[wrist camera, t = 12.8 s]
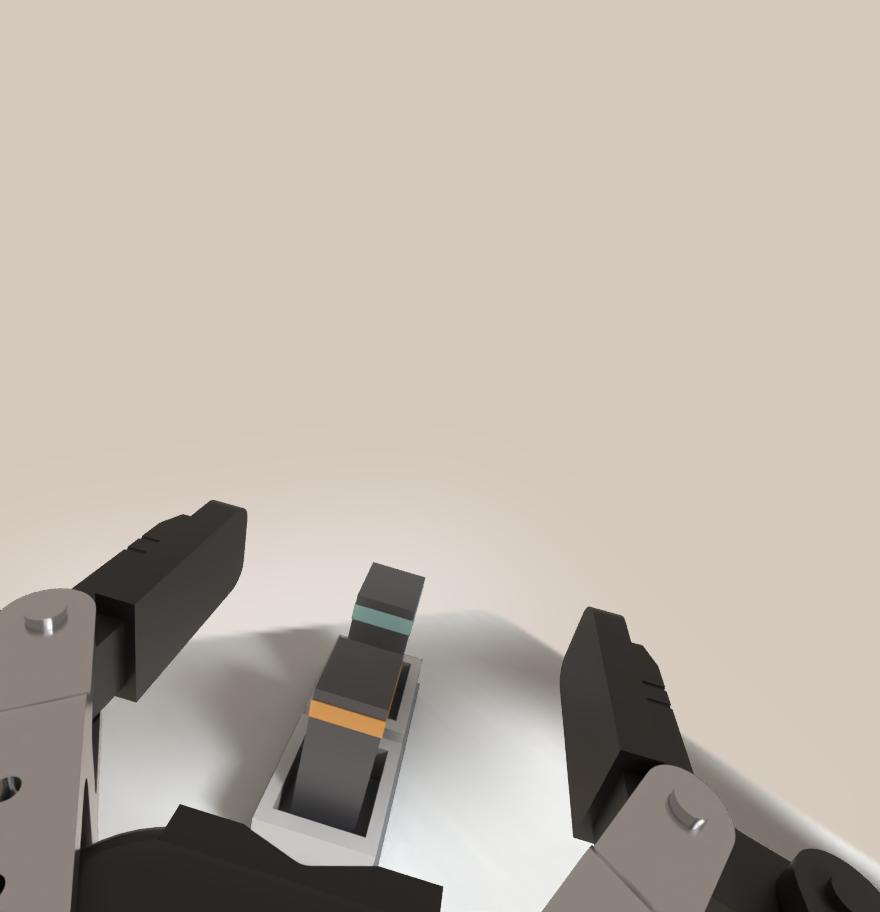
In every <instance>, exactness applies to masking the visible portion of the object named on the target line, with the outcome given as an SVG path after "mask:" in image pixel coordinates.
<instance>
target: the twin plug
mask: <svg viewBox="0 0 880 912" xmlns="http://www.w3.org/2000/svg"><path fill="white" fill-rule="evenodd" d="M424 580H425V577H422V576H418V575H415V574H411V573H408V572H405V571H401V570H398V569H394V568H391V567H388V566H384V565H381V564H378V563H374V562H373V564H372V566H371V568H370V570H369V573H368V575H367V577H366V579H365V581H364V583H363V585H362V587H361V589H360V592H359V593H358V597H357V601H356V603H355V606H354V610H353V615H352V623H351V627H350V632H349V636H348V639H351V640H354V641H357V642H361V643H364V644H367V645H371V646H374V647H377V648H381V649H384V650H387V651H391V652H394V653H397V654H401V655H404V651H405V648H406V644H407V641H408V637H409V636H410V632H411V629H412V625H413V622H414V618H415V615H416V611H417V608H418V604H419V601H420V597H421V594H422V590H423V587H424V586H423V584H424Z"/></svg>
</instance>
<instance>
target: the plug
mask: <svg viewBox="0 0 880 912" xmlns="http://www.w3.org/2000/svg"><path fill="white" fill-rule="evenodd" d="M403 658H404V655H401V654H397V653H394V652H391V651H387V650H384V649H381V648H377V647H374V646H371V645H367V644H364V643H361V642H357V641H354V640H351V639H347V638H344V637H341V636H339V638H338V640H337V643H336V645H335V647H334V649H333V651H332V653H331V655H330V657H329V660H328V662H327V664H326V666H325V668H324V670H323V672H322V674H321V677H320V679H319V681H318V683H317V685H316V687H315V691H314V696H313V698H312V700H311V705H310V710H309V715H308V716H309V720H308V725H307V730H306V735H305V740H304V745H303V750H302V755H301V760H300V765H299V769H298V774H297V779H296V784H295V789H294V794H293V799H292V804H291V809H290V814H292V815H295V816H298V817H302V818H305V819H308V820H311V821H314V822H317V823H321V824H324V825H327V826H330V827H333V828H336V829H339V830H343V831H346V832H349V833H352V834H354V831H355V827H356V824H357V820H358V817H359V813H360V810H361V806H362V803H363V799H364V796H365V792H366V789H367V785H368V782H369V778H370V775H371V771H372V768H373V764H374V761H375V757H376V754H377V750H378V747H379V743H380V739H381V738H382V736H383V732H384V729H385V725H386V722H387V718H388V715H389V711H390V708H391V704H392V700H393V697H394V693H395V690H396V686H397V683H398V679H399V675H400V672H401V668H402V662H403Z"/></svg>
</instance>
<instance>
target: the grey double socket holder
mask: <svg viewBox="0 0 880 912" xmlns="http://www.w3.org/2000/svg"><path fill="white" fill-rule="evenodd" d="M339 636H341V637H344V638H347V639H348V637H345V636H342V635H339ZM338 638H339V637H338ZM337 640H338V639H337ZM336 643H337V641H336ZM336 643H335V645H336ZM335 645H334V647H335ZM334 647H333V649H334ZM333 649H332V651H333ZM332 651H331V653H332ZM330 655H331V654H330ZM329 657H330V656H329ZM328 660H329V658H328ZM328 660H327V662H328ZM327 662H326V664H327ZM421 663H422V659H418V658H415V657H412V656H409V655H405V654H404V658H403V662H402V668H401V672H400V675H399V679H398V683H397V686H396V690H395V693H394V697H393V700H392V704H391V708H390V711H389V715H388V718H387V722H386V725H385V729H384V732H383V736H382V738H381V739H380V743H379V747H378V750H377V754H376V757H375V761H374V764H373V768H372V771H371V775H370V778H369V782H368V785H367V789H366V792H365V796H364V799H363V803H362V806H361V810H360V813H359V817H358V820H357V824H356V827H355V831H354V834H352V833H349V832H346V831H343V830H339V829H336V828H333V827H330V826H327V825H324V824H321V823H317V822H314V821H311V820H308V819H305V818H302V817H298V816H295V815H292V814H290V809H291V804H292V799H293V794H294V789H295V784H296V779H297V774H298V769H299V765H300V760H301V755H302V750H303V745H304V740H305V735H306V730H307V725H308V720H309V716H308V715H309V710H310V705H311V700H312V698H313V696H314V691H315V687H316V685H317V683H318V681H319V679H320V677H321V675H320V677H319V679H318V681H317V683H316V685H315V687H314V689H313V692H312V694H311V696H310V698H309V700H308V702H307V705H306V710H305V713H302V715H301V717H300V719H299V721H298V723H297V725H296V727H295V729H294V732H293V734H292V736H291V738H290V740H289V742H288V744H287V746H286V748H285V750H284V753H283V755H282V757H281V759H280V761H279V763H278V765H277V767H276V769H275V772H274V774H273V776H272V778H271V780H270V782H269V784H268V786H267V788H266V791H265V793H264V795H263V797H262V799H261V801H260V803H259V805H258V807H257V809H256V812H255V814H254V816H253V818H252V824H251V828H250V829H251V830H252V831H254V832H255V833H257V834H258V835H260V836H261V837H262V838H264V839H265V840H267V841H268V842H269V843H271V844H272V845H274V846H275V847H277V848H278V849H279V850H281V851H282V852H284V853H285V854H287V855H288V856H289V857H291V858H292V859H294V860H295V861H297V862H298V863H300V864H303V865H308V866H378V864H379V859H380V855H381V850H382V846H383V842H384V837H385V833H386V829H387V824H388V820H389V815H390V811H391V807H392V802H393V798H394V794H395V789H396V785H397V780H398V776H399V772H400V767H401V763H402V759H403V754H404V750H405V746H406V741H407V737H408V732H409V728H410V724H411V719H412V715H413V711H414V706H415V702H416V697H417V693H418V689H419V683H417V680H418V676H419V671H420V667H421ZM326 664H325V666H326ZM325 666H324V668H325ZM324 668H323V670H324ZM323 670H322V672H323ZM321 674H322V673H321Z"/></svg>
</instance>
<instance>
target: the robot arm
mask: <svg viewBox="0 0 880 912" xmlns="http://www.w3.org/2000/svg"><path fill="white" fill-rule="evenodd" d="M246 528H247V511H246V509H244V508H240V507H237V506H234V505H230V504H226V503H223V502H219V501H216V500H211V501H209V502H208V503H207V504H205V505H204V506H203V507H202V508H200V509H199V510H198V511H197V512H195V513H194V514H193V515H192V516H187V515H184V514H182V515H179V516H177V517H174V518H172V519H169V520H166V521H163V522H161V523H159V524H158V525H156V526H155V527H153V528H152V529H151V530H149V531H148V532H147V533H145V534H144V535H143V536H142V538H141V539H137V540H136V541H135V542H133V543H132V544H131V545H130V546H128V549H127V550H123V551H122V552H120V553H119V554H117V555H116V556H115V557H113V558H112V559H111V560H109V561H108V562H107V563H105V564H104V565H103V566H101V567H100V568H99V569H97V570H96V571H95V572H93V573H92V574H91V575H89V576H88V577H87V578H85V579H84V580H83V581H82V582H80V583H79V584H77V585H76V586H75V587H73V588H72V589H60V588H59V589H49V590H43V591H39V592H34V593H31V594H29V595H26V596H23V597H21V598H19V599H17V600H15V601H13V602H12V603H10V604H8V605H7V606H6V607H4V608H3V609H2V610H0V912H440V909H441V901H442V892H443V886H440V885H436V884H433V883H430V882H427V881H424V880H420V879H417V878H414V877H411V876H408V875H404V874H401V873H398V872H395V871H392V870H388V869H385V868H382V867H379V866H308V865H303V864H300V863H298V862H297V861H295V860H294V859H292V858H291V857H289V856H288V855H287V854H285V853H284V852H282V851H281V850H279V849H278V848H277V847H275V846H274V845H272V844H271V843H269V842H268V841H267V840H265V839H264V838H262V837H261V836H260V835H258V834H257V833H255V832H254V831H252V830H251V829H250V828H248V827H247V826H245V825H244V824H242V823H238V822H235V821H232V820H229V819H226V818H222V817H219V816H216V815H213V814H210V813H206V812H203V811H200V810H197V809H194V808H190V807H187V806H184V805H181V804H180V805H179V806H178V808H177V810H176V811H175V813H174V815H173V816H172V818H171V819H170V821H169V823H168V824H167V826H166V827H154V828H146V829H138V830H134V831H130V832H125V833H121V834H118V835H115V836H112V837H109V838H106V839H103V840H101V841H98V799H99V775H100V752H101V728H102V711H101V710H102V709H103V708H104V707H105V706H106V705H107V704H108V703H109V701H110V700H111V699H112V698H113V697H114V696H117V697H120V698H124V699H127V700H130V701H134V702H137V701H138V700H139V699H140V697H141V696H142V695H143V694H144V693H145V692H146V690H147V689H148V688H149V687H150V686H151V685H152V683H153V682H154V681H155V680H156V679H157V678H158V676H159V675H160V674H161V673H162V672H163V671H164V669H165V668H166V667H167V666H168V665H169V664H170V662H171V661H172V660H173V659H174V658H175V656H176V655H177V654H178V653H179V652H180V651H181V649H182V648H183V647H184V646H185V645H186V644H187V642H188V641H189V640H190V639H191V638H192V637H193V635H194V634H195V633H196V632H197V631H198V629H199V628H200V627H201V626H202V625H203V624H204V622H205V621H206V620H207V619H208V618H209V617H210V615H211V614H212V613H213V612H214V611H215V610H216V608H217V607H218V606H219V605H220V604H221V603H222V601H223V600H224V599H225V598H226V597H227V596H228V594H229V593H230V592H231V591H232V590H233V588H234V587H235V585H236V583H237V581H238V579H239V577H240V574H241V571H242V568H243V562H244V551H245V539H246ZM664 689H665V686H664V683H663V680H662V677H661V674H660V670H659V668H658V665H657V664H656V663H655V661H654V660H653V659H652V657H651V656H650V655H649V653H648V652H647V651H646V650H645V648H644V647H643V646H642V645H639V644H635V643H632V642H631V640H630V636H629V633H628V629H627V626H626V622H625V619H624V617H623V616H621V615H618V614H614V613H611V612H607V611H603V610H600V609H596V608H592V607H587V608H586V610H585V611H584V613H583V615H582V617H581V620H580V622H579V624H578V627H577V629H576V631H575V634H574V636H573V638H572V641H571V643H570V645H569V648H568V650H567V652H566V655H565V657H564V660H563V664H562V668H561V674H560V694H561V705H562V716H563V727H564V738H565V750H566V761H567V772H568V783H569V795H570V806H571V817H572V828H573V837H574V838H577V839H580V840H583V841H587V842H590V843H593V844H594V847H593V846H591V847H590V848H589V849H588V850H587V851H586V853H585V854H584V855H583V856H582V858H581V859H580V861H579V862H578V863H577V865H576V866H575V867H574V869H573V870H572V871H571V873H570V874H569V875H568V877H567V878H566V880H565V881H564V882H563V884H562V885H561V886H560V888H559V889H558V890H557V892H556V893H555V894H554V896H553V897H552V899H551V900H550V901H549V903H548V904H547V905H546V907H545V908H544V909H543V911H542V912H880V893H879V891H878V890H877V889H876V888H875V887H874V886H873V885H872V884H871V883H870V882H869V881H868V880H867V879H866V878H865V877H864V876H863V875H862V874H860V873H859V872H858V871H857V870H855V869H854V868H853V867H852V866H850V865H849V864H847V863H846V862H844V861H843V860H841V859H840V858H838V857H836V856H834V855H832V854H830V853H827V852H825V851H822V850H818V849H805V850H803V851H801V852H799V853H798V855H797V856H796V857H795V858H794V859H793V861H792V862H790V861H788V860H786V859H785V858H783V857H781V856H779V855H778V854H776V853H774V852H773V851H771V850H769V849H768V848H766V847H764V846H763V845H761V844H759V843H758V842H756V841H754V840H753V839H751V838H749V837H748V836H746V835H744V834H743V833H741V832H740V831H738V830H737V829H736V828H734V824H733V821H732V818H731V816H730V814H729V812H728V810H727V808H726V807H725V805H724V804H723V802H722V801H721V800H720V798H719V797H718V796H717V794H716V793H715V792H714V791H713V790H712V789H711V788H710V787H709V786H708V785H707V784H706V783H704V782H703V781H702V780H701V779H699V778H698V777H697V776H695V775H694V773H693V770H692V767H691V764H690V761H689V758H688V755H687V752H686V749H685V746H684V743H683V740H682V737H681V734H680V731H679V728H678V725H677V722H676V719H675V716H674V713H673V710H672V709H670V705H671V704H670V701H669V698H668V695H667V692H666V691H665V690H664Z"/></svg>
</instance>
